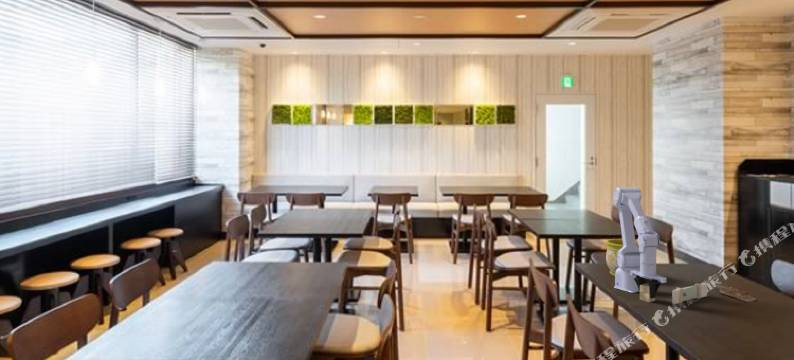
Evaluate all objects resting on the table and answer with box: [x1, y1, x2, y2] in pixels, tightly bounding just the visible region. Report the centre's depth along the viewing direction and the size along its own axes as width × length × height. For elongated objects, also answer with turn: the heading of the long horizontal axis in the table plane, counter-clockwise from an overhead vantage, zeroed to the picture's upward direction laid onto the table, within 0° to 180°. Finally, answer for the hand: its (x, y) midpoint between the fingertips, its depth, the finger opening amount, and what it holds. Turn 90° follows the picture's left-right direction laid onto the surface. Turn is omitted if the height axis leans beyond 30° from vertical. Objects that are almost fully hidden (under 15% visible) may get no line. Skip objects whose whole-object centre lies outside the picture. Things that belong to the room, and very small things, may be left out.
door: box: [681, 285, 698, 302], centre depth 202 cm, size 2×10×5 cm, turn 118°
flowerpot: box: [605, 238, 639, 278], centre depth 239 cm, size 18×18×16 cm
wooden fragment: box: [714, 284, 758, 303], centre depth 211 cm, size 26×11×1 cm, turn 169°
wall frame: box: [671, 282, 708, 305], centre depth 202 cm, size 2×21×6 cm, turn 118°
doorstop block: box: [639, 283, 656, 303], centre depth 202 cm, size 4×4×6 cm
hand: (647, 296), depth 202 cm, fingers closed on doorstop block, 4 cm apart
